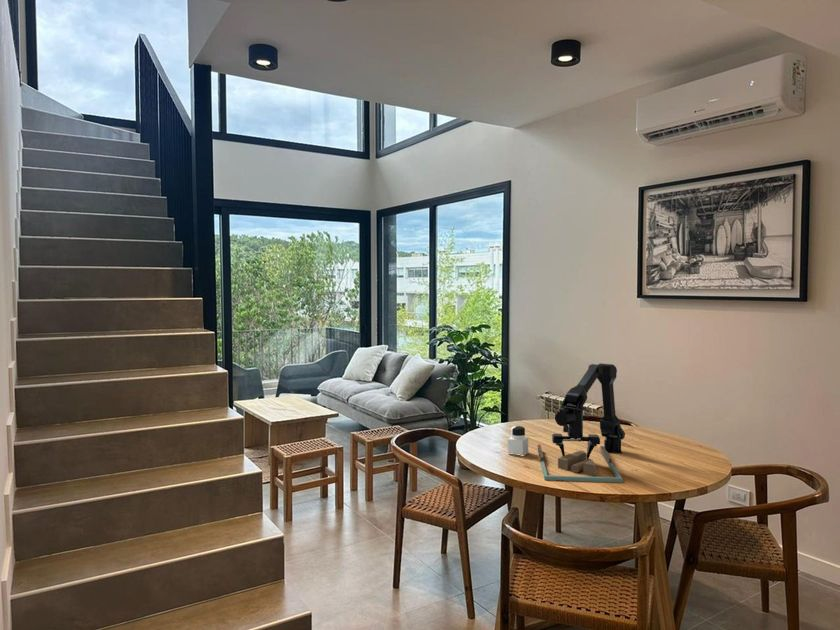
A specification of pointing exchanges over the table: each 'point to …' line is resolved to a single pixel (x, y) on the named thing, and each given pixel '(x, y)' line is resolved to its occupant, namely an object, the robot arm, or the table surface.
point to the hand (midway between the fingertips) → (575, 459)
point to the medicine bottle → (518, 441)
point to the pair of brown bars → (602, 450)
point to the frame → (584, 478)
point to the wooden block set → (577, 463)
